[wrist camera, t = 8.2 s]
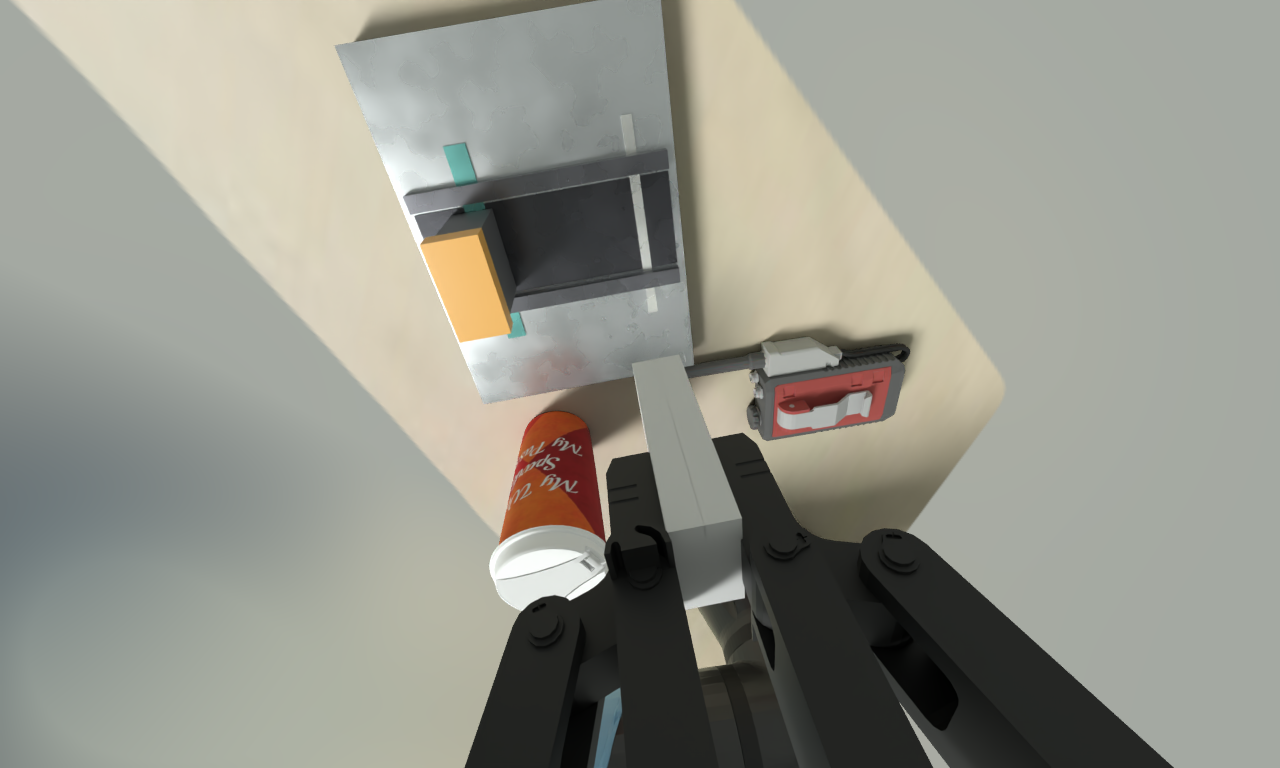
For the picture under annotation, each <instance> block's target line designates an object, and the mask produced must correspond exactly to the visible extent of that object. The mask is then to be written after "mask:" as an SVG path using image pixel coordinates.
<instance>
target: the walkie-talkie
mask: <svg viewBox="0 0 1280 768" xmlns="http://www.w3.org/2000/svg"><path fill="white" fill-rule="evenodd" d="M899 350H902V352H901V353H900V355H898V356H894V355H893V354H891V353H890V352H893V351H899ZM909 354H910V349H909V348H908V347H906V345H904V344H898V343H896V344H890V345H884V346H882V345H880V346H874V347H871V348H870V347H868V348H865V349H864V348H861V349H859V350H857V349H855V350H853V351H851V350H849V351H847V350H844V349H838V347H837V346H831V347H827V346H825V345H823V344H821V343H820V342H818V341H816V340H814V339H812V338H810V337H802V338H796V339H790V340H783V341H777V342H771V341H767V342H762V343H761V352H755V353H749V354H747V356H742V357H736V358H730V359H723V360H717V361H711V362H704V363H700V364H698V365H692V366H686V367H684V369H685V371H686V374H687V376H688V378H693V377H700V376H706V375H712V374H718V373H724V372H730V371H736V370H742V369H750V370H753V369H756V370H755V371H754V373H750V374H749V378H750V381H752V382H751V383H754V382H756V384H755V388H754V389H753V392H754V396H755V406H754V405H749V406H748V408H747V418H748V422H749V425H750V427H751V428H752V429H753V430H755V429H758V431H759V433H760V435H761V437H762V439H764V440H766V441H770V440H776V439H782V438H787V437H793V436H799V435H805V434H811V433H816V432H822V431H826V430H827V431H828V430H832V429H833V430H834V429H837V428H839V429H840V428H844V427H845V428H846V427H849V426H851V427H852V426H855V425H857V426H858V425H861V424H863V425H864V424H867V423H869V424H870V423H873V422H875V423H876V422H879V421H884V420H886V419H887V418H889V417H891V416H892V415H894V413H895V411H896V406H897V402H898V398H899V394H900V390H901V386H902V382H903V378H904V373H905V367H904V364H902V363H901V362H904V361H905V360H906V359H907V358H908V356H909Z"/></svg>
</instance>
